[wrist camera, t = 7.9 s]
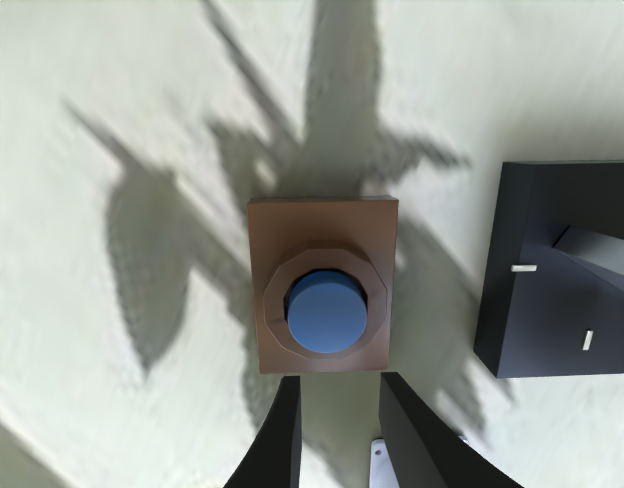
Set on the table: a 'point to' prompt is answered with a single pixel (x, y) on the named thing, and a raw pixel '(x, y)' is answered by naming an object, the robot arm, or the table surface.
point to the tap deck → (551, 273)
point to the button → (326, 312)
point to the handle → (595, 253)
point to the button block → (314, 258)
